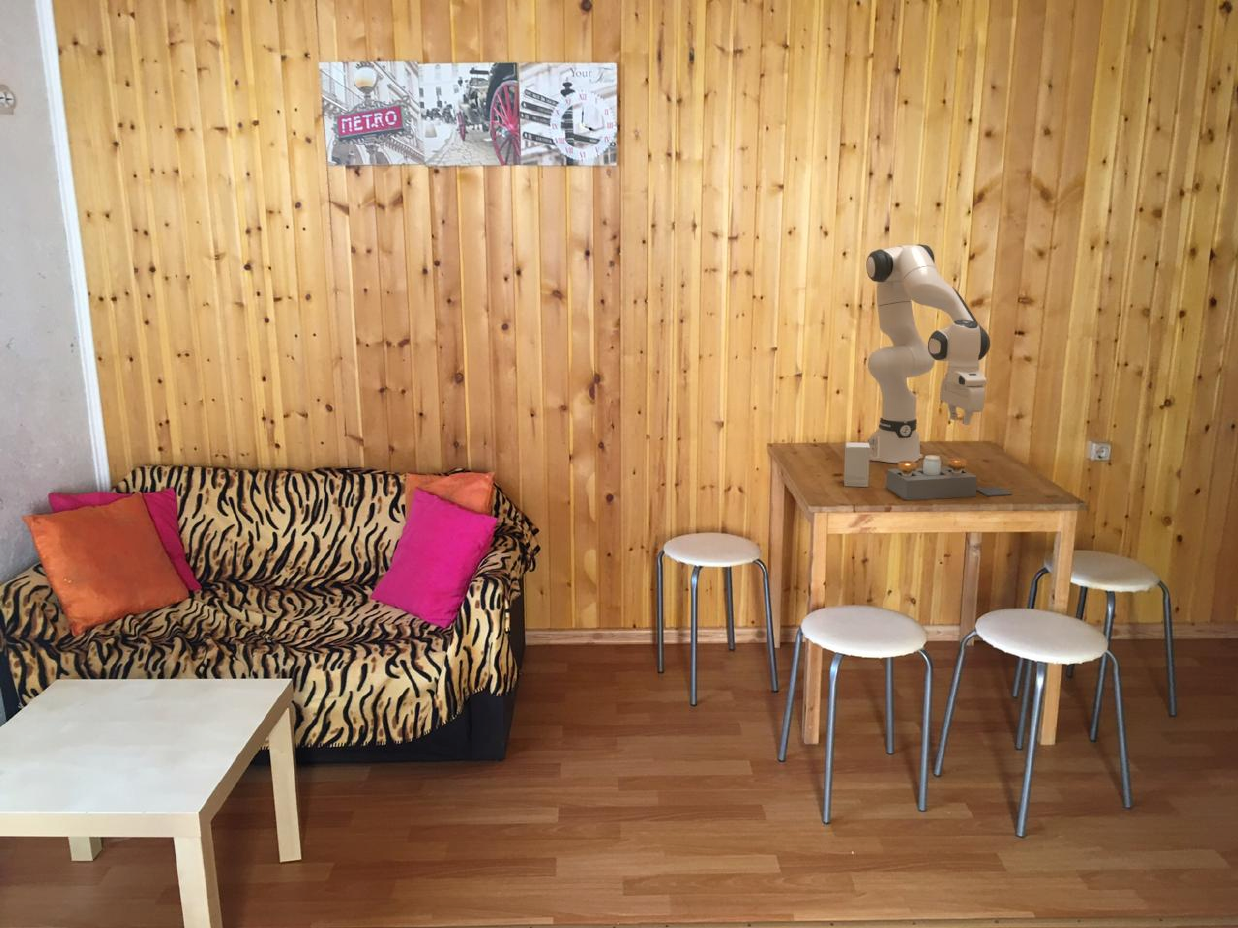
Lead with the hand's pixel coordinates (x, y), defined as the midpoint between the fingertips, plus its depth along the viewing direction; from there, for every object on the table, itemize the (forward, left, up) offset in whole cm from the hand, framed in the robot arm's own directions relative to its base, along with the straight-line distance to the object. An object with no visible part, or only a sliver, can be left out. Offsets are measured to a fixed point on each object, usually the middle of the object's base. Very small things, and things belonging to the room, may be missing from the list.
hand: (959, 421), depth 301 cm
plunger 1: (0, -16, -19) cm, 25 cm away
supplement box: (-14, -26, -22) cm, 37 cm away
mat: (+4, +10, -21) cm, 24 cm away
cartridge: (0, -8, -21) cm, 23 cm away
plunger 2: (0, 0, -19) cm, 19 cm away
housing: (0, -8, -21) cm, 23 cm away
